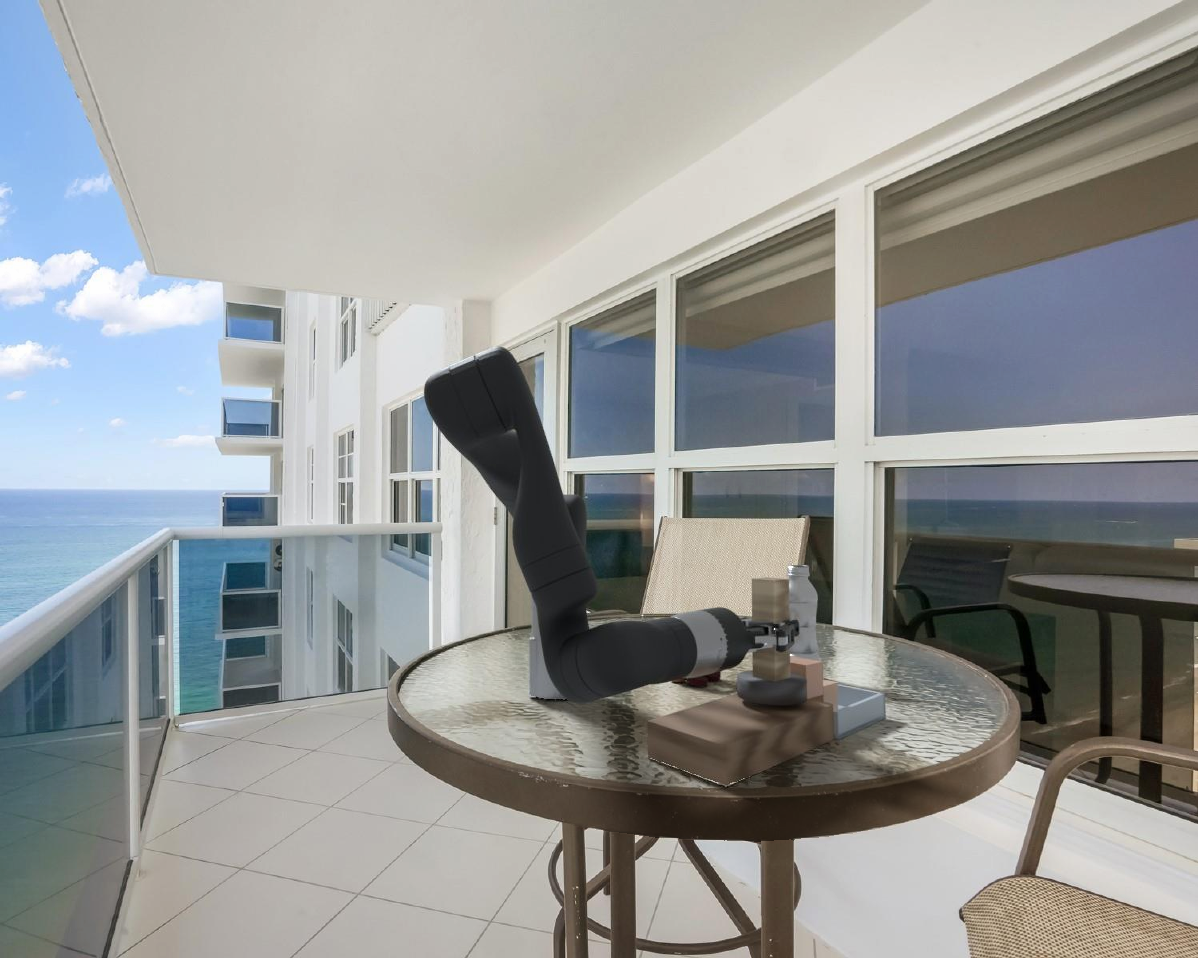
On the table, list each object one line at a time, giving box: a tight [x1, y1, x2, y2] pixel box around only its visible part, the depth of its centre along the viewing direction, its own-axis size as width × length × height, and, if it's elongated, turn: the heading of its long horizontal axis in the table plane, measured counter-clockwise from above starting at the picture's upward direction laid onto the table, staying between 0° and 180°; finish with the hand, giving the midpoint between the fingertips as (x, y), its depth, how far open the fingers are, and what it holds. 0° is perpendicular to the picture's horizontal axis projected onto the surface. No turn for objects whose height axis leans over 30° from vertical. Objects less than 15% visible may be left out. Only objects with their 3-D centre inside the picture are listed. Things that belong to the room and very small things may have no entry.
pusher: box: [736, 577, 807, 705], centre depth 89 cm, size 9×9×16 cm
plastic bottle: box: [786, 564, 821, 661], centre depth 119 cm, size 6×7×20 cm
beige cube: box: [809, 679, 839, 712], centre depth 96 cm, size 4×4×4 cm
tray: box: [834, 683, 887, 740], centre depth 96 cm, size 13×13×4 cm
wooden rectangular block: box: [646, 692, 835, 785], centre depth 84 cm, size 22×12×4 cm, turn 131°
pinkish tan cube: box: [790, 657, 824, 699], centre depth 93 cm, size 4×4×4 cm
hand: (782, 625), depth 91 cm, fingers closed on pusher, 3 cm apart
